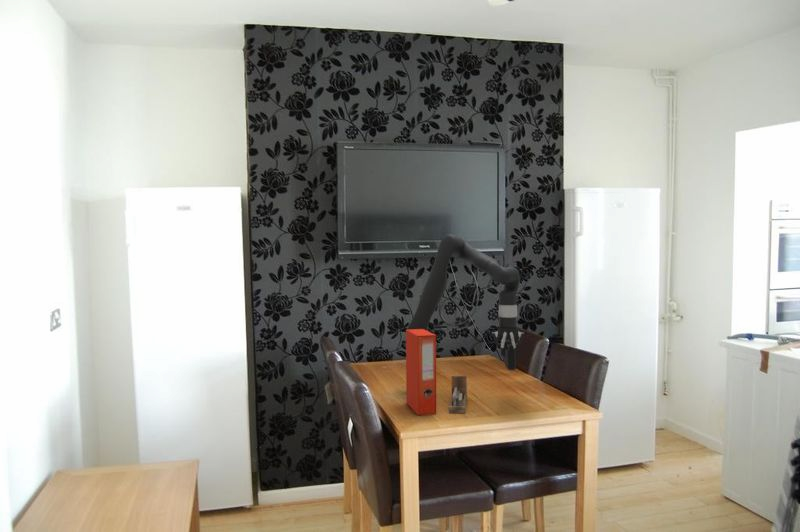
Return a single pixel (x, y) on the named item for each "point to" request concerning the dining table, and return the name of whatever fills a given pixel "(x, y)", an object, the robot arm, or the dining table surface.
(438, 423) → the dining table surface
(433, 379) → the file binder
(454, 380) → the rack
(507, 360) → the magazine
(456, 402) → the offcut stack
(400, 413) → the dining table surface
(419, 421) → the dining table surface
